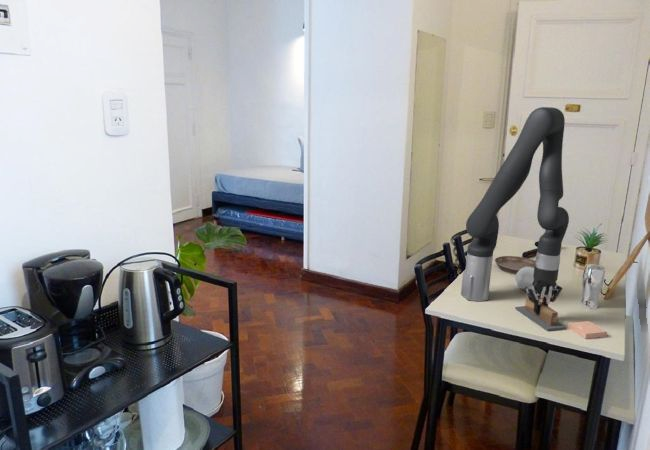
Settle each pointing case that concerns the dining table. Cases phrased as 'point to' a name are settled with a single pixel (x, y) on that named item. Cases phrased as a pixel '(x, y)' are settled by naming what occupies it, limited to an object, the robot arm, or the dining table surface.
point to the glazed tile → (587, 329)
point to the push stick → (543, 312)
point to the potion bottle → (525, 277)
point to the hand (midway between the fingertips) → (540, 313)
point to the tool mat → (540, 320)
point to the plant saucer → (513, 263)
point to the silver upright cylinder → (592, 285)
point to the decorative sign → (531, 252)
